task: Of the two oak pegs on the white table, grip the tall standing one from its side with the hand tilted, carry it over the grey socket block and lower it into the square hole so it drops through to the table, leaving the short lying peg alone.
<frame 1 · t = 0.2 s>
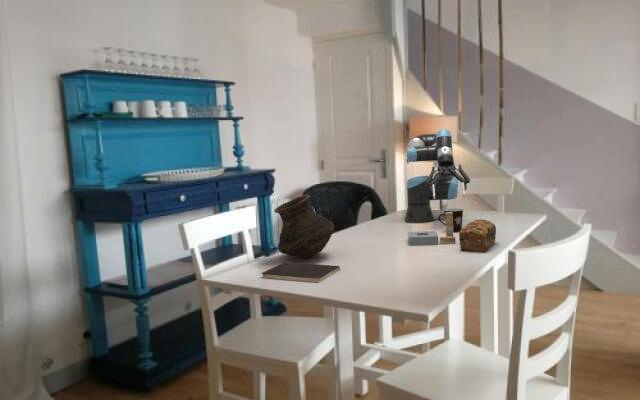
hand: (449, 196, 244), 16 cm above the table, tool tilted 35°, fingers open, 13 cm apart
long oak peg: (449, 237, 228), on the table
socket block: (423, 242, 223), on the table
coffee mug: (451, 231, 243), on the table
ceramic pot: (307, 257, 210), on the table
hardcover book: (301, 276, 185), on the table
bread: (478, 247, 208), on the table
short oak peg: (447, 243, 218), on the table
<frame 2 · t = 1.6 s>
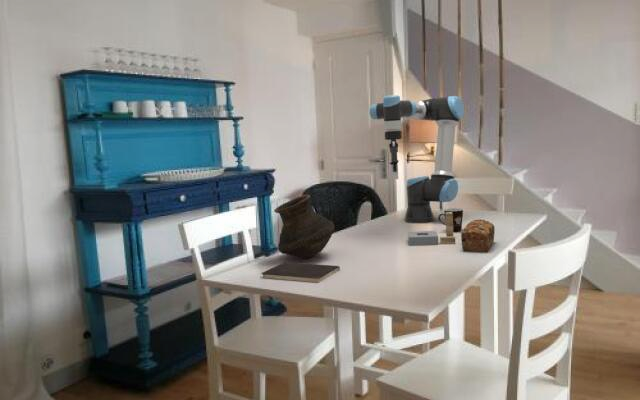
hand: (395, 178, 235), 27 cm above the table, tool pointing down, fingers open, 13 cm apart
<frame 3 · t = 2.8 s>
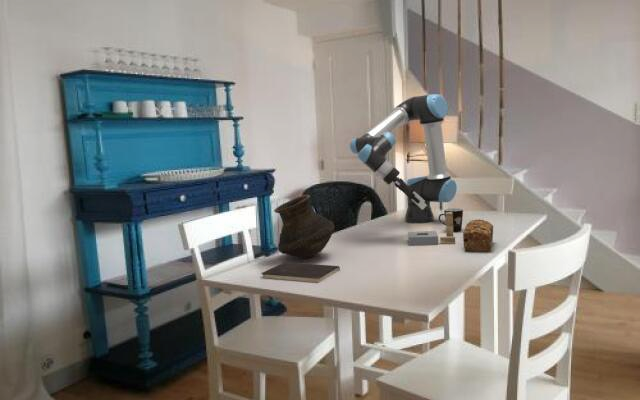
hand: (423, 205, 228), 15 cm above the table, tool tilted 45°, fingers open, 13 cm apart
nothing on the table moved.
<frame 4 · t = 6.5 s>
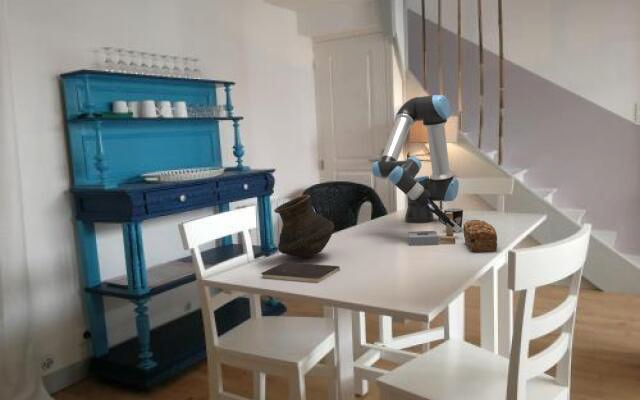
hand: (458, 230, 227), 3 cm above the table, tool tilted 45°, fingers closed on long oak peg, 3 cm apart
long oak peg: (449, 237, 228), on the table, touching gripper
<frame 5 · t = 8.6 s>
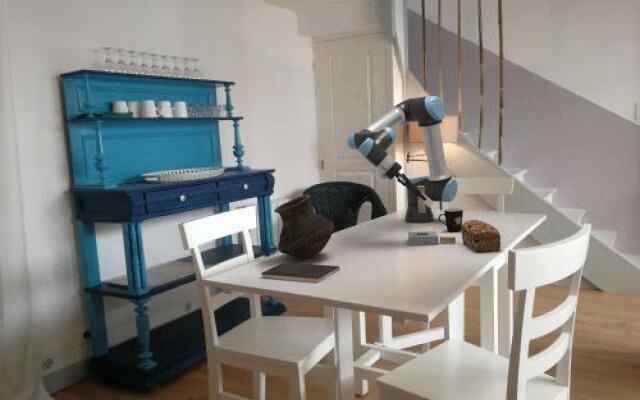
hand: (430, 204, 221), 16 cm above the table, tool tilted 45°, fingers closed on long oak peg, 3 cm apart
long oak peg: (421, 212, 222), point 13 cm above the table, touching gripper
when the fingers open (5 cm above the table, at t = 10.7 s): long oak peg drops 2 cm, resting in socket block.
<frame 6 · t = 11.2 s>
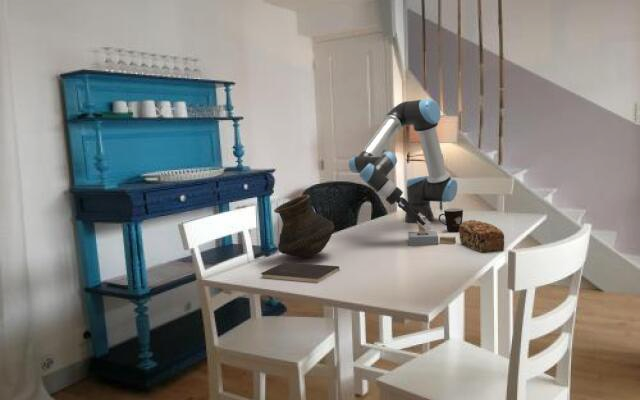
hand: (429, 227, 222), 6 cm above the table, tool tilted 45°, fingers open, 10 cm apart
long oak peg: (422, 242, 223), resting in socket block
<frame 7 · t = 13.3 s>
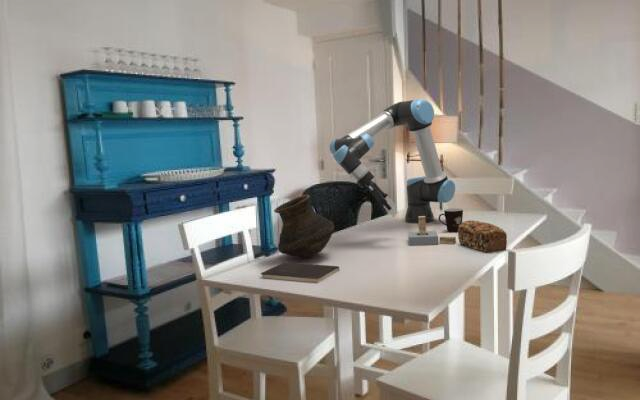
hand: (395, 212, 226), 13 cm above the table, tool tilted 40°, fingers open, 13 cm apart
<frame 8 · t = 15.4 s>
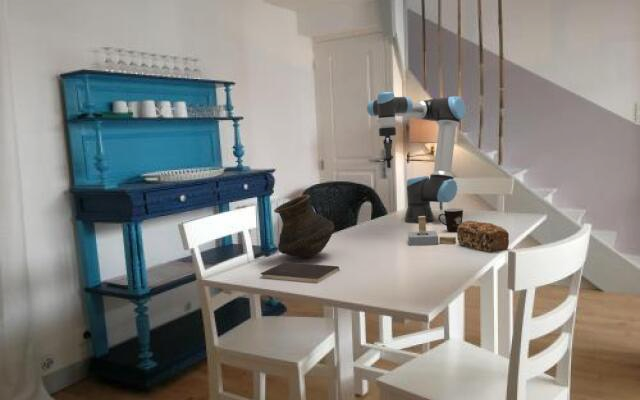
hand: (389, 174, 237), 29 cm above the table, tool pointing down, fingers open, 13 cm apart
at the end: long oak peg 0.1 cm off-centre on the socket block, point 0.0 cm above the socket block's base; long oak peg tilted 0°; the gripper is holding nothing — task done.
